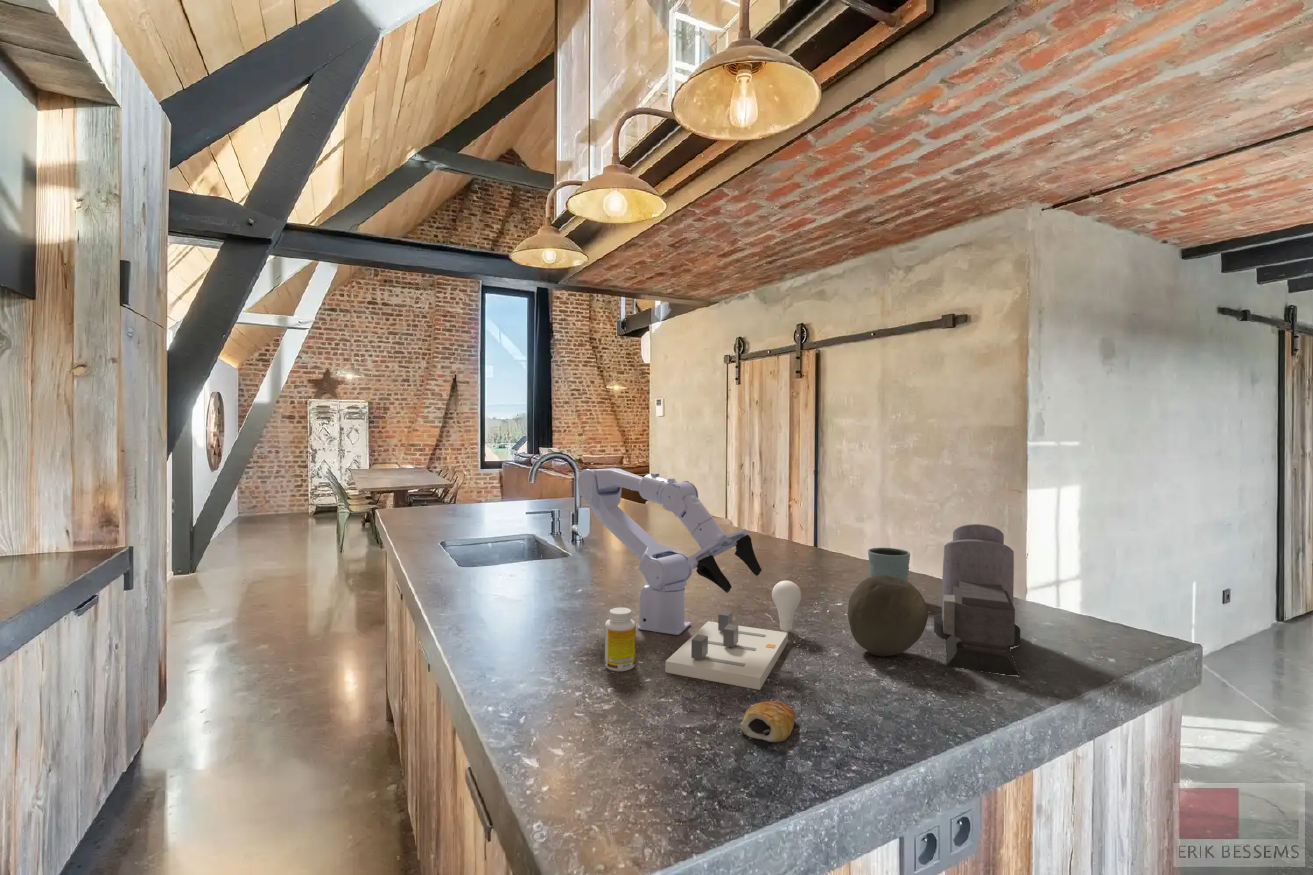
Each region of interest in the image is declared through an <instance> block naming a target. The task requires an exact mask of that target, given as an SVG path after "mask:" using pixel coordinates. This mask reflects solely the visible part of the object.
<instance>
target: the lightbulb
mask: <svg viewBox="0 0 1313 875" xmlns="http://www.w3.org/2000/svg"><path fill="white" fill-rule="evenodd" d="M771 597H772V601H773V603H774V606H775V607H776V610H777V613H778V621H779V628H780V630H781V631H782V632H786V633H789V632H790V631H792V630H793V622H794V620H795V612H796V610H797V608H798V606H799V605H800V603H801V599H802V591H801V589H800V588H799V586H798V585H797V584H796V583H795V582H793V581H791V580H781V581H778V583H777V582H776V584H775V585H774V587H773V589H772V591H771Z"/></svg>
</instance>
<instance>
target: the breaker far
mask: <svg viewBox="0 0 1313 875" xmlns="http://www.w3.org/2000/svg"><path fill="white" fill-rule="evenodd" d="M717 617H718V622H717V623H718V630H721V631H724V628H725V627H726V626H727V625H728V624H732V625H733V611H732V610H725V609H722V610H721V611H720V612H719V613H718V616H717Z"/></svg>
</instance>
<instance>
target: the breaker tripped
mask: <svg viewBox="0 0 1313 875" xmlns="http://www.w3.org/2000/svg"><path fill="white" fill-rule="evenodd" d="M738 626H739V624H733V623H732V624H728V625H727V626H726V627H725V628H724V631H723V646H727V647H734V646H735V645H736V644H737V643H738Z"/></svg>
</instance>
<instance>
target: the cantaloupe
mask: <svg viewBox="0 0 1313 875" xmlns="http://www.w3.org/2000/svg"><path fill="white" fill-rule="evenodd" d="M849 597H850V598H849V600H848V607H847V620H848V623H849V624H848V625H849V629H850V633H851V636H852V637H853V639H854V640H855V641H856V643H857V644H858V645H859V646H860V647H862V648H863V649H865V650H866V651H867V652H869V653H870V654H872V655H875V656H878V657H890V656H891V657H892V656H895V655H899V654H901V653H903V652H905V651H907V650H908V649H910V648H911V647H912V646H913V645H914V644H916V643H917V642H918V640H919V639H920V638H921V637H922V635H923V633H924V631H925V628H926V626H927V623H928V617H929V612H928V606H927V604H926V601H925V599H924V597H923V595H922V594H921V592H920V591H919V590H918V588H917V587H915V586H914V585H913V584H912V583H911V582H909V581H908V582H907V581H906V580H904V579H901V578H897V577H894V576H889V575H876V576H873V577H870V576H869V577H866V579H864V580H862V581H861V582H859V584H857V586H856V587H855V589H853V592H851V595H850V596H849Z"/></svg>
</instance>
